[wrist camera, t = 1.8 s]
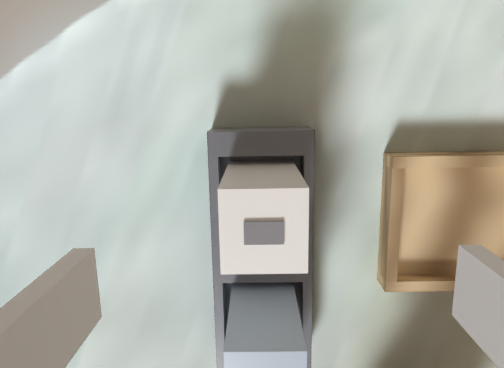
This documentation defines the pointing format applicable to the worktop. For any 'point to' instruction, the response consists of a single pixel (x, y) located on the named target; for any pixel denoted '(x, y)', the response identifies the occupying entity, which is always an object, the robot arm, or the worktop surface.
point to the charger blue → (264, 327)
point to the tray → (437, 215)
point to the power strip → (219, 154)
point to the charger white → (263, 218)
